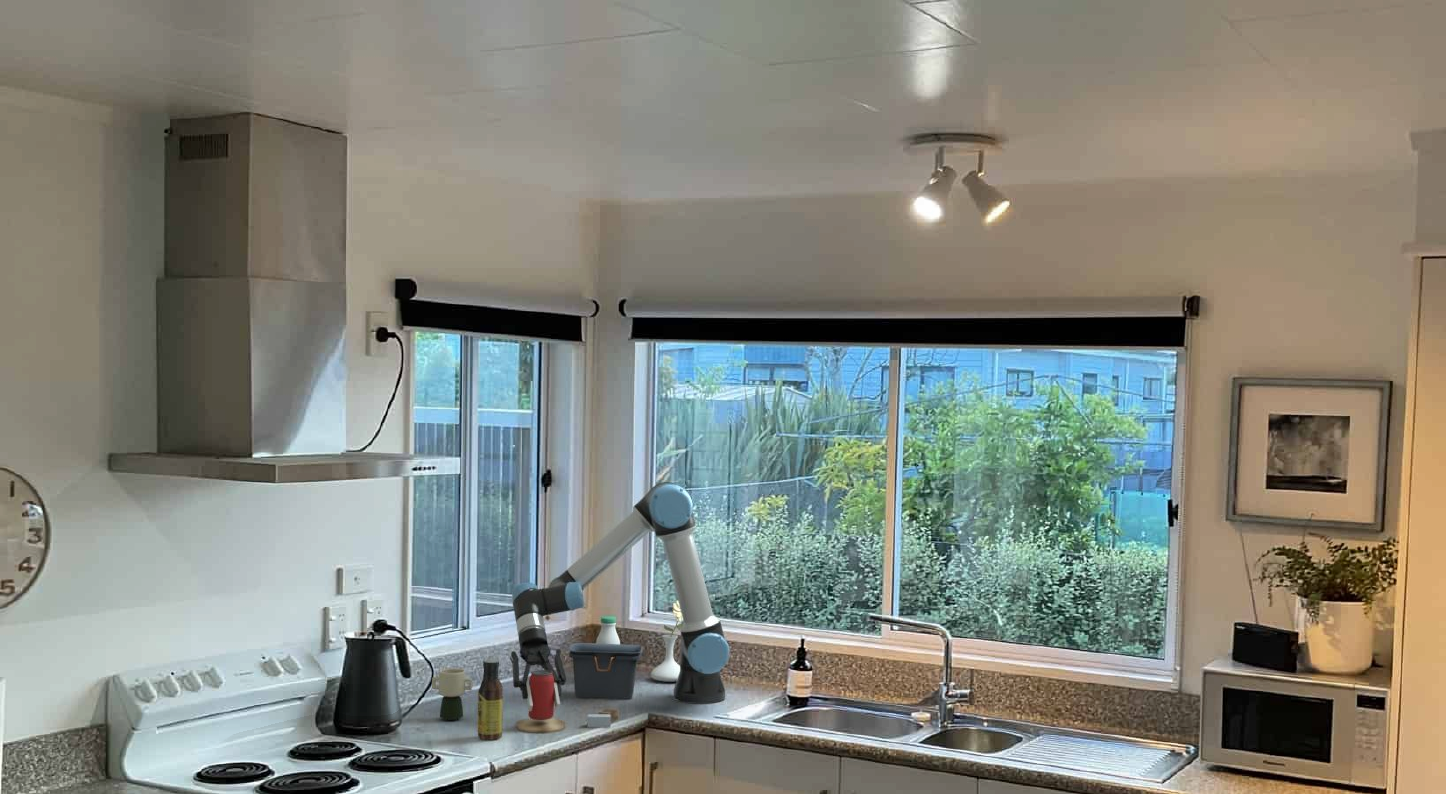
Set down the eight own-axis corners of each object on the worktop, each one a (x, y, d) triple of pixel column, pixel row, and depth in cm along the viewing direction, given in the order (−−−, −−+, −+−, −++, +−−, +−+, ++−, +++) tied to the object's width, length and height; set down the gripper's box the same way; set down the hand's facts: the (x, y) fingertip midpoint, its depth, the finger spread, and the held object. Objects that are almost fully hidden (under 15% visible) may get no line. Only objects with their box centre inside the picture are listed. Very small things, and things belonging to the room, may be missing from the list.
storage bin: (642, 691, 408) (643, 643, 408) (640, 703, 393) (641, 653, 393) (570, 690, 408) (571, 642, 408) (565, 702, 392) (566, 651, 392)
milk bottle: (594, 679, 423) (595, 614, 423) (619, 679, 424) (620, 614, 424) (594, 685, 416) (596, 618, 416) (620, 684, 417) (621, 619, 417)
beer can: (548, 721, 358) (549, 675, 358) (524, 719, 360) (525, 673, 360) (556, 715, 365) (557, 670, 365) (533, 713, 366) (534, 668, 366)
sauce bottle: (480, 734, 353) (481, 657, 353) (504, 735, 353) (506, 657, 353) (474, 740, 346) (476, 662, 346) (499, 741, 346) (501, 662, 346)
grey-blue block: (610, 725, 366) (610, 714, 366) (610, 728, 363) (610, 716, 363) (587, 725, 366) (587, 714, 366) (587, 728, 363) (587, 716, 363)
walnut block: (608, 718, 374) (608, 707, 374) (618, 719, 373) (618, 708, 373) (598, 723, 368) (598, 712, 368) (608, 724, 367) (608, 713, 367)
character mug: (474, 716, 372) (475, 668, 372) (468, 722, 365) (469, 673, 365) (434, 715, 373) (435, 667, 373) (427, 721, 366) (428, 672, 366)
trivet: (559, 719, 370) (559, 716, 370) (570, 731, 358) (570, 727, 358) (511, 722, 366) (511, 719, 366) (521, 734, 354) (521, 730, 354)
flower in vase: (657, 685, 417) (659, 602, 417) (645, 677, 428) (647, 597, 428) (697, 682, 422) (699, 601, 422) (685, 675, 433) (686, 596, 433)
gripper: (564, 640, 380) (577, 712, 365) (494, 643, 373) (505, 717, 358) (569, 624, 375) (583, 697, 360) (498, 627, 368) (509, 701, 353)
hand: (544, 707), depth 359 cm, fingers closed on beer can, 6 cm apart
